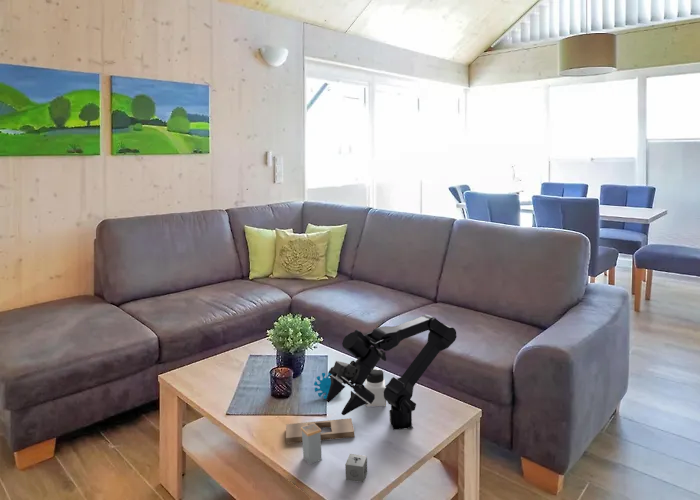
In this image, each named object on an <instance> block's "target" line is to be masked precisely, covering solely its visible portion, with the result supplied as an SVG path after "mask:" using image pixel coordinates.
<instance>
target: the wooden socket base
mask: <svg viewBox="0 0 700 500" xmlns="http://www.w3.org/2000/svg"><path fill="white" fill-rule="evenodd" d="M312 423H315V424H316V425H317V426H318V427H319V428H320V429H324V428H325V429H326V428H327V429H328V428H330V431H328V432H320V437H321V441H329V440H340V439H349V438H350V439H351V438H355V428H354V424H353V421H352V418H351V417H349V418H340V419H330V420H329V419H328V420H319V421H318V420H317V421H309V422H307V421H306V422H297V423H286V424H285V443H286V444H297V443H298V444H299V443H303V441H302V430H301V427H303V426H306V425H309V424H312Z"/></svg>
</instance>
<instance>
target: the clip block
mask: <svg viewBox="0 0 700 500" xmlns="http://www.w3.org/2000/svg"><path fill="white" fill-rule="evenodd" d="M301 430H302V441H303V442H302V452H303V453H302V454H303V459H304V460H305V461H306V462H307V464H309V465H312V464H314V463H317V462H319V461H322V443H321V441H322V440H321V437H320V433H322V428H319V427H318V426H317V425H316V424H315V423H312V424H309V425H306V426H303V427H301Z"/></svg>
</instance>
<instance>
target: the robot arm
mask: <svg viewBox="0 0 700 500" xmlns="http://www.w3.org/2000/svg"><path fill="white" fill-rule="evenodd" d="M426 331H428V335H427V340H426V344H424V347H422V349H421V350H420V351H419V353H418V354H417V356H416V357H415V358H414V360H413V361H412V362H411V363H410V365H409V366H408V367H407V368H406V370H405V372H403V374H402V375H401V376H400V377H398V378H396V377H394V376H393V377H391V379H390V380H389V382H388V383H387V384H385V387H386V388H385V390H384V398H385V400H386V403H387V404H388V405H390V410H388V411H389V413H388V414H389V423H390V425H391V426H392V428H393V430H394V431H396V430H404V428H407V429H413V428H414V425H413V423H412V421H413V419H412V418H413V417H412V416H413V414H412V412H413V411H415V410H416V407H417V403H415V402H414V401H413V400H411V399H412V397H413V393H414V386H415V385H416V384H417V383H418V381H419V380H420V379H421V377H422V376H423V375H424V374H425V372H426V370H427V369H428V368H429V367H430V365H431V364H432V363H433V361H434V360H435V358H436V357H437V356H438V355H439V353H440V352H442V351H444V350H447V349H449V348H450V347H451V345H453V343H454V342H455V341H456V340H457V337H458V336H457V330H456V329H455V328H454V327H453V326H450V325H447V324H445V323H443V322H441V321H439V319H437V318H436V317H434V316H432V315H430V314H428V313H427V314H422V315H421V316H420V317H417V318H413V319H412V320H409V321H406V322H404V323H400V324H397V325H394V326H387V325H386V326H380V327H376V328H374V329H373V330H372V331H371V332H367V333H365V334H363V332H361V330H359V329H355V330H354V331H353V332H352V331H351V332H350V333H348V334H347V335H345V336H344V338H343V339H342V344H341V345H342V347H343V349H345V350H346V351H347V352H348V353H349V354H351V355H352V357H354V358H357V359H356V361H355V360H351V361H350V363H348V362H343V361H339V360H335V362H334V364H333V366H332V367H331V368H329V370H328V372H329V373H330V374H332V375H329V378H330V379H331V385H330V389H329V392H328V395H327V398H326V399H325V401H326V402H327V403H330V402H331V401H333V399H335V398H336V396H338V395H339V394H340V391H341V392H342V391H343V389H345V388H346V386H345V385H347V386H349V387H350V388H351V389H353V391H352V390H350V396H349V399H348V401H347V403H346V404H345V405H344V407H343V409H342V411H341V414H340V415H342V416H345V415H347V414H349V413H351V412H353V411H354V410H356V409H358V408H360V407H362V406H363V405H366V404H368V403H367V401H368V402H369V403H370V404H372V402H373V401H374V399H375V395H374V394H373V393H372V392H370V391H369V390H368V389H367V388H365V380H366V379H367V377H368V376H369V377H372V374H371V372H372V370H373V369H374V368H375V367H376V366H377V365H378V363H379V362H380V360H382V361H384V362H387V357H386V352H388V351H391V350H393V349H394V348H396V347H397V346H399V344H400V343H401V342H402V341H404V340H406V339H408V338H412V337H414V336H416V335H418V334H422V333H424V332H426ZM338 393H339V394H338Z"/></svg>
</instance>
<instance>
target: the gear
mask: <svg viewBox="0 0 700 500" xmlns="http://www.w3.org/2000/svg"><path fill="white" fill-rule="evenodd" d="M329 375H332V374H330V373H329V371H328V372H327V376H326V373H325V372H321V376H322V379H321V376H320V375H319V376H316V380H318V381H319V383H318V382H317V381H314V383H313V385H314V386H317V387H314V392H315V393H317V392H318V393H317V395H318V397H320V398H321V397H323V399H324V400H326V398H327V395H328V392H329V389H330V385H331V379H330V377H329ZM325 376H326V377H325ZM318 387H319V388H318ZM340 392H342V391H340ZM340 392H339V393H338V394H337V395H339V394H340ZM323 394H324V395H323ZM322 395H323V396H322Z"/></svg>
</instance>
